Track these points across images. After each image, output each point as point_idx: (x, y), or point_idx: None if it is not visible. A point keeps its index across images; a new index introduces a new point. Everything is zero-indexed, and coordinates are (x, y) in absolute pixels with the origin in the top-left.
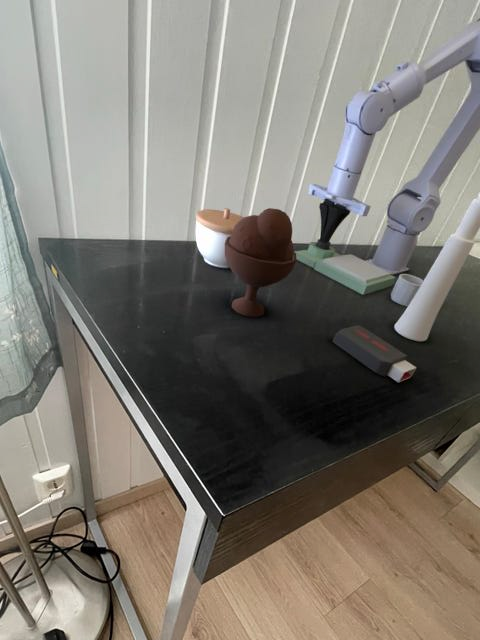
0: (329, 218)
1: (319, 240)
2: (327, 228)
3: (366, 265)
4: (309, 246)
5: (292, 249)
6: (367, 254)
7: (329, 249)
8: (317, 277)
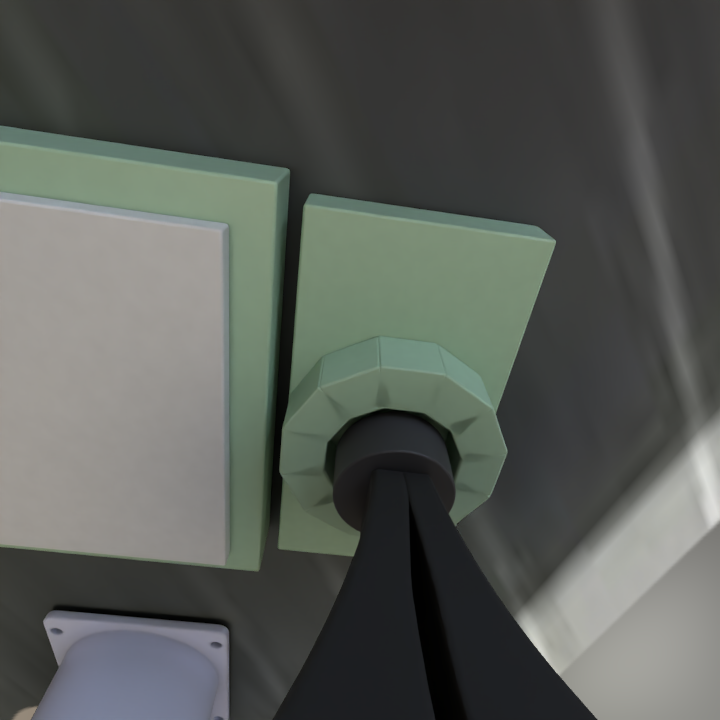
0: (391, 677)
1: (429, 471)
2: (380, 562)
3: (19, 491)
4: (482, 393)
5: None
6: None
7: None
8: (149, 5)
